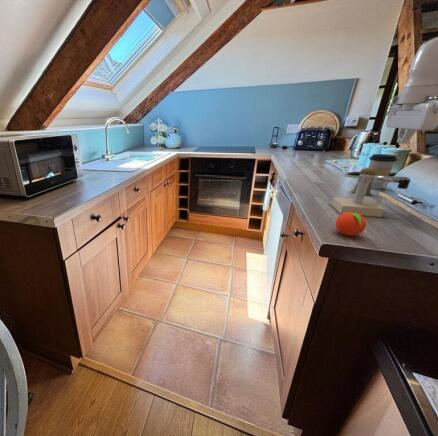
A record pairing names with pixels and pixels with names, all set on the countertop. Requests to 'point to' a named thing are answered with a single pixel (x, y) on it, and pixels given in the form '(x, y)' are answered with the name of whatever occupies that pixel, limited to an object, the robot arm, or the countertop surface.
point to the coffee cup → (381, 167)
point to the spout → (386, 180)
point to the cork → (373, 173)
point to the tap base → (358, 203)
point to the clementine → (350, 223)
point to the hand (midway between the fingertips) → (402, 143)
